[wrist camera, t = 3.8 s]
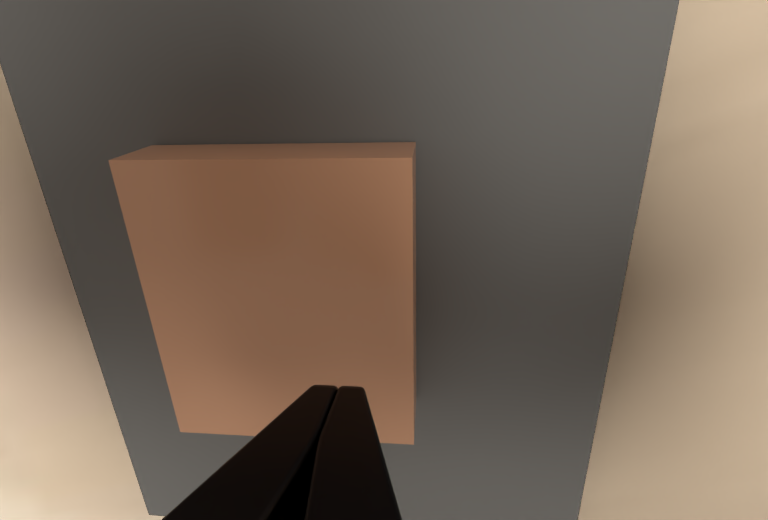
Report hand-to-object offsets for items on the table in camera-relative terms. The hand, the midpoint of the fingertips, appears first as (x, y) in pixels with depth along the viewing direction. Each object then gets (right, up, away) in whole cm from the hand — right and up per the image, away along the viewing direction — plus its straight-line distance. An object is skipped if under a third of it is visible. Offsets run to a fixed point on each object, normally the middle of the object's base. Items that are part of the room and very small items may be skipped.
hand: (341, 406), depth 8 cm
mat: (-1, +1, +5) cm, 5 cm away
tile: (+1, +1, +3) cm, 4 cm away
